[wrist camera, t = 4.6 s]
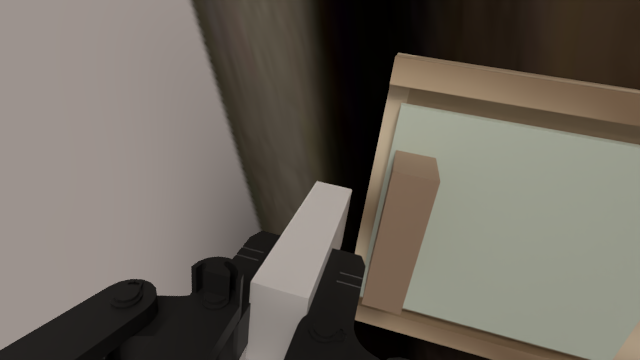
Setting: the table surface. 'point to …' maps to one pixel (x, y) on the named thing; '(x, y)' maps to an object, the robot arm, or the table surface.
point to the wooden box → (507, 105)
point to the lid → (509, 231)
